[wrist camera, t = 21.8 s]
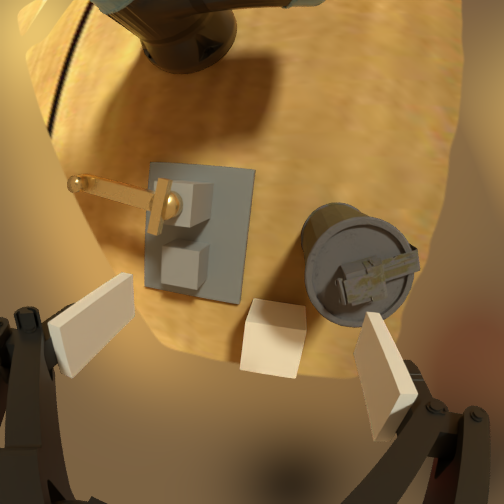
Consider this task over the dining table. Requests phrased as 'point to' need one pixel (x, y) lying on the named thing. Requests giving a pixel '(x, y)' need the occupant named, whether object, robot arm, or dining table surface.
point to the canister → (355, 264)
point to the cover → (273, 338)
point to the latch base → (201, 232)
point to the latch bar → (134, 197)
